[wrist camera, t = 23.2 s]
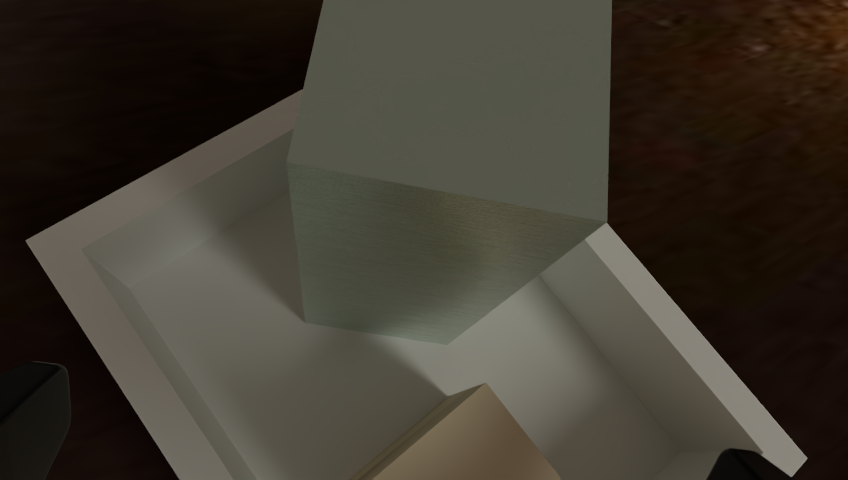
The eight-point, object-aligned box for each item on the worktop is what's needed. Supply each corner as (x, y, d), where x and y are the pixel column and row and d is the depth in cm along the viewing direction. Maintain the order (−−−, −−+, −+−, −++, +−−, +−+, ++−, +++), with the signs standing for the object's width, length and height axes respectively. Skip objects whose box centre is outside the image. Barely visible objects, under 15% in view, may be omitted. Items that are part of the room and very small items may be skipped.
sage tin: (461, 215, 23) (612, -27, 11) (447, 345, 21) (607, 222, 9) (331, 191, 22) (344, -91, 10) (305, 322, 20) (286, 161, 9)
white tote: (704, 455, 22) (807, 458, 17) (409, 767, 17) (441, 885, 13) (411, 98, 25) (432, 18, 20) (92, 287, 20) (25, 240, 16)
